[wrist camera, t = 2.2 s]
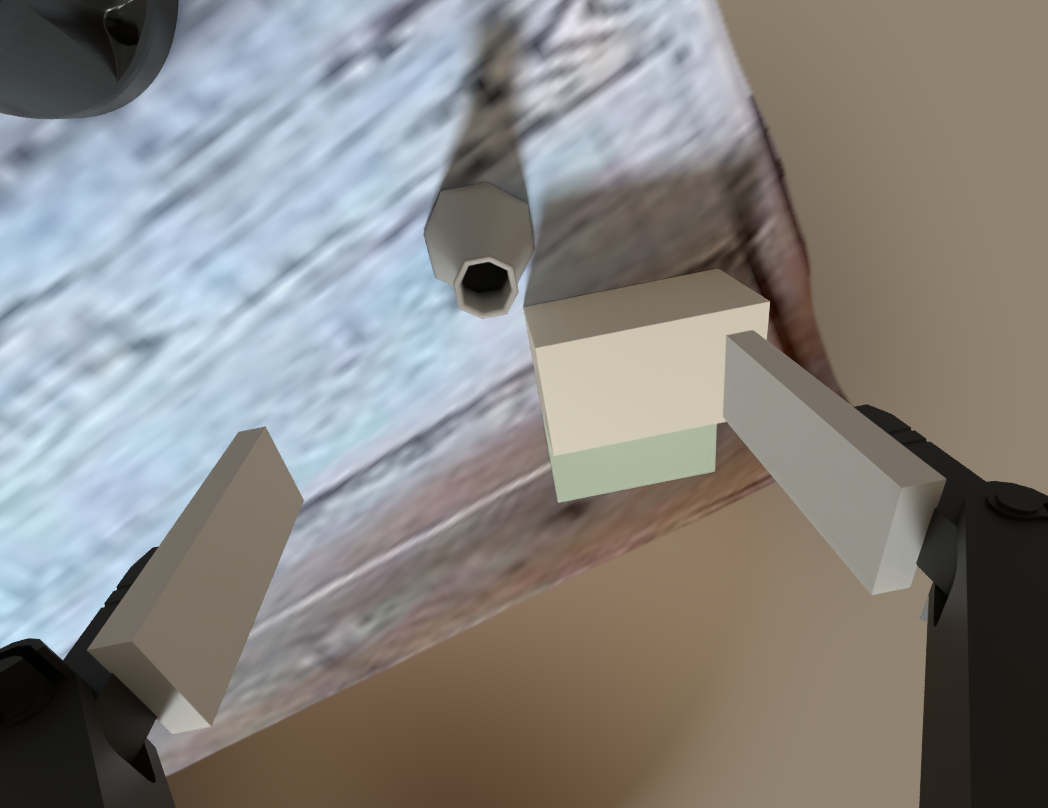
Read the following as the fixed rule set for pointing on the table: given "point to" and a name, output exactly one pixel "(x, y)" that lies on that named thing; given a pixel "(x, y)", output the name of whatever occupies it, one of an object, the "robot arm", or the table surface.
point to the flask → (480, 246)
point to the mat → (633, 463)
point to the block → (638, 357)
